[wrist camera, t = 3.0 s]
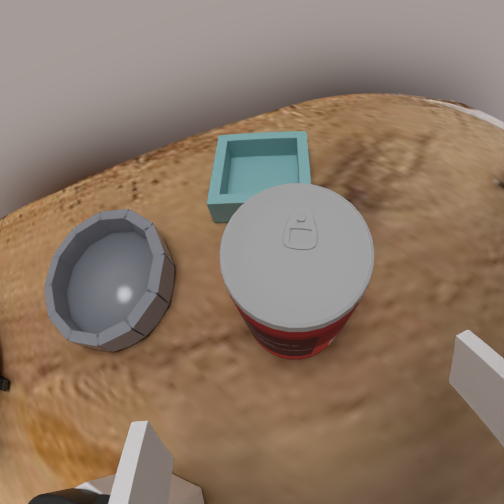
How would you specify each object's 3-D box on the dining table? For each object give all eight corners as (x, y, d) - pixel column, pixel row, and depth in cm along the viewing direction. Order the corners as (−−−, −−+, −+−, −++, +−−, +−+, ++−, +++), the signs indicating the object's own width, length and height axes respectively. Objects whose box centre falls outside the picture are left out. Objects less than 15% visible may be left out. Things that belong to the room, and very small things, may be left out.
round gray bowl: (184, 223, 29) (174, 205, 27) (164, 359, 24) (149, 353, 21) (81, 229, 31) (67, 214, 28) (52, 340, 25) (33, 333, 23)
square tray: (305, 151, 32) (306, 131, 29) (311, 220, 28) (312, 201, 25) (224, 155, 33) (219, 135, 30) (214, 222, 29) (206, 204, 26)
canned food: (330, 259, 26) (349, 172, 16) (352, 350, 22) (396, 309, 12) (242, 274, 26) (212, 194, 17) (254, 367, 23) (225, 341, 13)
